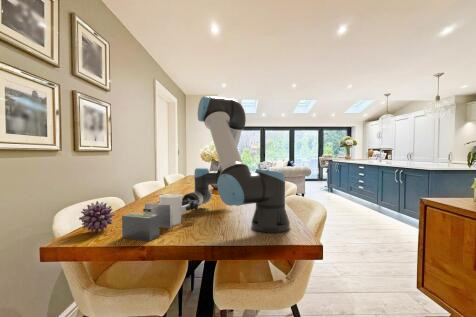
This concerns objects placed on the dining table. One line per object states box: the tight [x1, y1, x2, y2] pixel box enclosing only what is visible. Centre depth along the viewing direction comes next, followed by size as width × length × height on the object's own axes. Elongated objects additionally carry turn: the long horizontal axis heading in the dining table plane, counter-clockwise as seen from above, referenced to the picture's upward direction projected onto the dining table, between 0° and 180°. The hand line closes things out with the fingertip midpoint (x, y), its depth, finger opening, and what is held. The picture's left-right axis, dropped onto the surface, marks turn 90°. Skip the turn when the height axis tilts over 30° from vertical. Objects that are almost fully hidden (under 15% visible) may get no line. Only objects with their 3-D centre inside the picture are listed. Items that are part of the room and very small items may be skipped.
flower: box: [78, 200, 116, 233], centre depth 93 cm, size 12×12×12 cm
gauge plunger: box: [142, 202, 173, 229], centre depth 93 cm, size 12×7×9 cm, turn 71°
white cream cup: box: [158, 193, 184, 227], centre depth 104 cm, size 10×10×12 cm
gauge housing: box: [121, 212, 160, 242], centre depth 87 cm, size 12×5×8 cm, turn 71°
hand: (166, 209), depth 101 cm, fingers open, 13 cm apart
